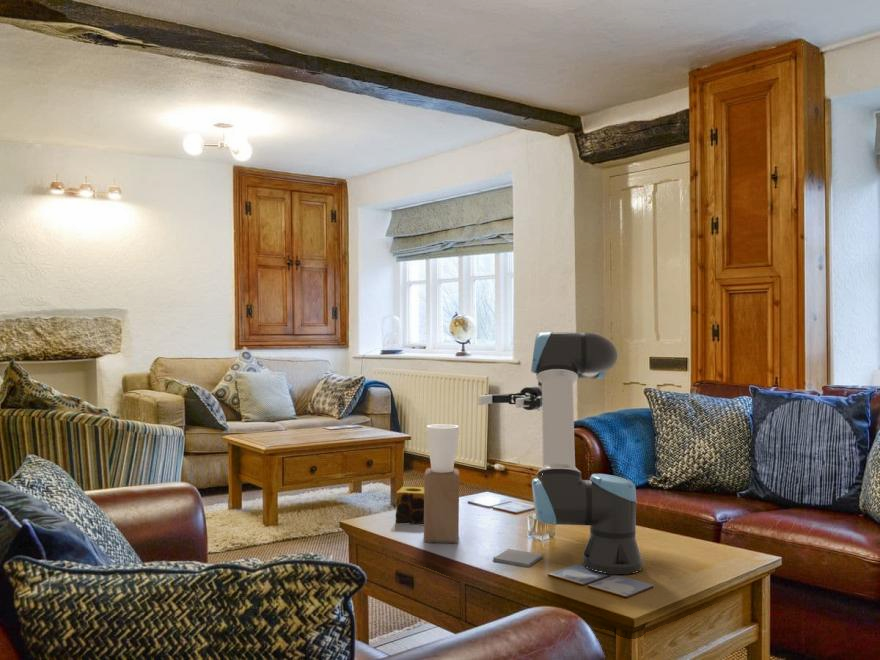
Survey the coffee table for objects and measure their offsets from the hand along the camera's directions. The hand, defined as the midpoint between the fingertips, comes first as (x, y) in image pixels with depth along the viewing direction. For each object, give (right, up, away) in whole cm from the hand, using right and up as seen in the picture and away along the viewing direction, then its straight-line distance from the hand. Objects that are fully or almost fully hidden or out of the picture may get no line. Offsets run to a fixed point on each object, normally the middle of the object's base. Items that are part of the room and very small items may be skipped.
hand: (497, 401), depth 234 cm
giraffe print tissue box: (-26, -39, +13) cm, 49 cm away
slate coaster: (+3, -40, -28) cm, 48 cm away
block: (-17, -40, -9) cm, 44 cm away
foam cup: (-17, -20, -8) cm, 27 cm away
